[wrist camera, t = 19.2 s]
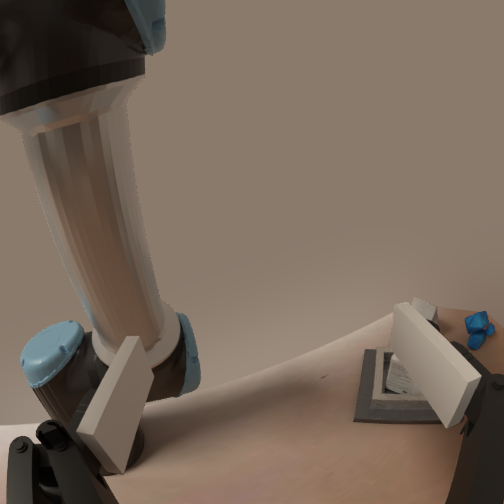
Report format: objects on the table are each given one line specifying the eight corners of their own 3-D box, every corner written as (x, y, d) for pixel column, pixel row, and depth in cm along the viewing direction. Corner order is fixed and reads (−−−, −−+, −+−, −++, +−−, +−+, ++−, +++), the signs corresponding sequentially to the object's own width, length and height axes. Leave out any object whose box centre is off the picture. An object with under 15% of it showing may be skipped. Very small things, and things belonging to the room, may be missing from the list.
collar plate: (353, 421, 41) (355, 408, 40) (364, 352, 58) (365, 339, 57) (461, 422, 33) (468, 409, 32) (448, 354, 50) (452, 341, 49)
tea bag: (423, 348, 55) (431, 310, 52) (403, 336, 61) (409, 299, 58) (433, 342, 56) (441, 304, 53) (413, 330, 62) (419, 294, 59)
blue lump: (504, 313, 47) (489, 322, 43) (492, 346, 49) (474, 359, 45) (481, 303, 54) (462, 310, 49) (470, 335, 56) (450, 346, 51)
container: (399, 365, 50) (409, 310, 46) (433, 375, 45) (448, 319, 41) (384, 388, 45) (394, 331, 42) (420, 401, 40) (438, 342, 36)
